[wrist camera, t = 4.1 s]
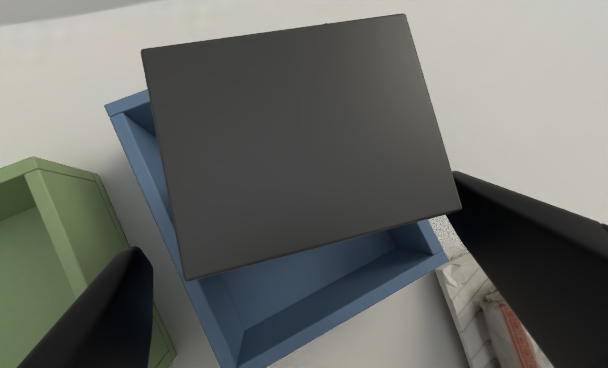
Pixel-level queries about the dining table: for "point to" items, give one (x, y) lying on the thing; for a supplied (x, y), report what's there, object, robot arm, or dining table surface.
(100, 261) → the green bin
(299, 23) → the dining table surface
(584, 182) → the dining table surface
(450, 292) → the packaged product
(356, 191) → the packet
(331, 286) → the blue bin
